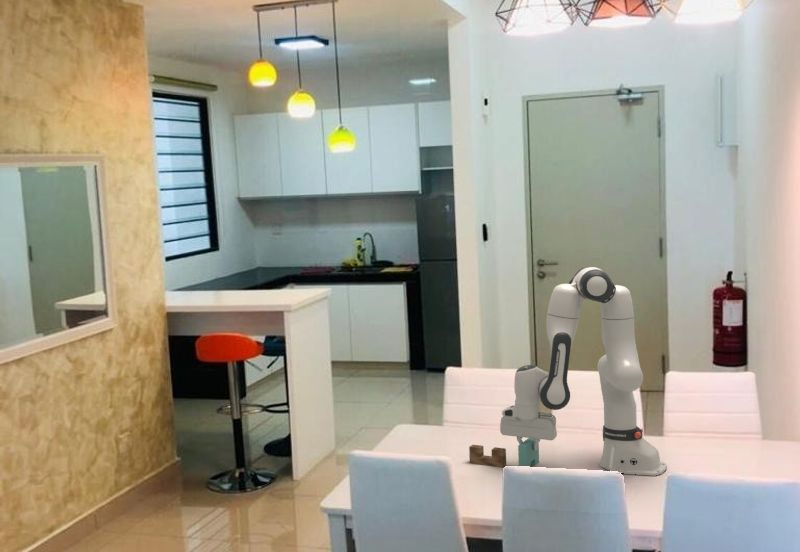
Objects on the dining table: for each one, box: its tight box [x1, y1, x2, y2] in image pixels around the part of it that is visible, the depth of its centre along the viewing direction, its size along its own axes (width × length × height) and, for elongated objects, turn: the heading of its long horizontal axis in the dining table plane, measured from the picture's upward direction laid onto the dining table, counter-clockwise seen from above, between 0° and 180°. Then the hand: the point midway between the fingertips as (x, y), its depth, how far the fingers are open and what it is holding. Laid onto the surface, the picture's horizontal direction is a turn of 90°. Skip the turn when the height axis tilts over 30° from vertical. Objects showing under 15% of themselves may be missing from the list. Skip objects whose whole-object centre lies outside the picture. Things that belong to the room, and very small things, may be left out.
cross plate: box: [517, 438, 540, 467], centre depth 303 cm, size 12×3×9 cm, turn 150°
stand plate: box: [468, 444, 507, 468], centre depth 308 cm, size 13×3×6 cm, turn 60°
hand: (528, 449), depth 303 cm, fingers closed on cross plate, 3 cm apart
